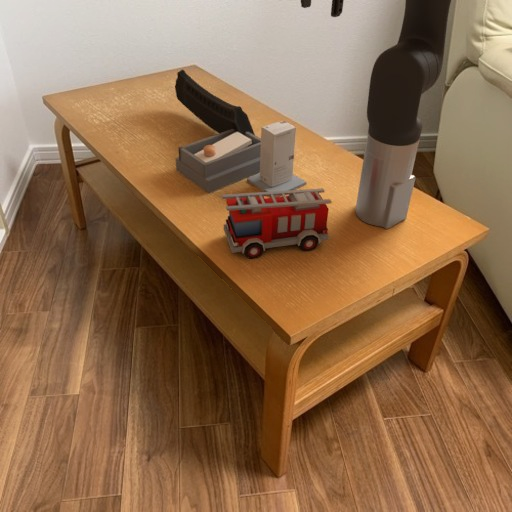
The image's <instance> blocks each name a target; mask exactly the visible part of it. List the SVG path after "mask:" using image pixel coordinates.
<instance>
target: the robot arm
mask: <svg viewBox="0 0 512 512" xmlns="http://www.w3.org/2000/svg"><path fill="white" fill-rule="evenodd" d="M344 2H345V1H344V0H331V9H330V17H332V18H338V17H340V16H341V15H342V13H343V8H344ZM404 3H405V6H404V15H403V21H402V23H401V30H400V33H399V37H398V40H397V43H396V44H395V45H393V46H391V47H389V48H388V49H386V50H384V51H383V52H381V53H380V54H379V55H378V56H377V58H376V60H375V62H374V63H373V67H372V70H371V75H370V80H369V88H368V95H367V96H368V97H367V105H366V106H367V107H366V118H367V122H368V129H367V136H366V143H365V148H364V149H365V150H364V153H363V154H364V155H363V161H362V166H361V172H360V179H359V184H358V189H357V191H358V192H357V198H356V204H355V208H354V209H355V214H356V217H358V219H360V220H361V221H362V222H364V223H366V224H369V225H372V226H376V227H382V228H384V229H386V230H388V229H390V228H393V226H395V225H397V224H398V223H400V222H402V221H404V220H405V219H407V216H408V212H409V209H410V203H411V198H412V195H413V191H414V186H415V181H416V176H415V175H414V174H413V169H414V165H415V161H416V156H417V153H418V148H419V144H420V143H419V142H420V141H421V140H420V139H421V134H422V130H423V122H422V120H421V118H420V117H418V113H419V107H420V103H421V98H422V95H423V94H424V93H425V92H427V91H428V90H430V88H432V87H433V86H434V85H435V84H436V83H437V81H438V79H439V78H440V76H441V72H442V68H443V64H444V63H443V62H444V55H445V48H446V47H445V46H446V38H447V37H446V36H447V29H448V28H447V27H448V22H449V21H448V20H449V12H450V7H451V3H452V0H405V2H404ZM300 4H301V5H300V6H301V8H304V9H307V8H310V7H311V5H312V0H300Z"/></svg>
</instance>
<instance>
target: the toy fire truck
mask: <svg viewBox="0 0 512 512" xmlns="http://www.w3.org/2000/svg"><path fill="white" fill-rule="evenodd" d="M325 191H326V190H325V189H324V188H323V187H322V188H309V189H308V188H307V189H295V190H289V191H273V192H264V191H263V192H262V191H260V192H259V191H258V192H243V193H231V194H230V193H229V194H221V197H222V200H225V201H226V206H225V209H226V210H227V211H228V214H229V215H228V216H227V219H225V224H223V231H224V234H225V237H226V240H227V243H228V247H229V249H230V252H231V254H235V253H240V252H241V253H242V254H244V255H245V257H246V258H248V259H249V260H254V259H255V260H257V259H258V258H260V257H261V256H262V255H263V252H265V251H266V249H270V248H278V247H284V246H285V247H286V246H293V245H297V246H298V247H300V249H301V250H302V251H303V252H312V251H314V250H315V249H317V247H318V246H319V244H321V242H322V241H329V237H330V235H329V229H328V227H327V226H328V216H329V207H328V206H327V204H332V202H333V201H332V200H331V199H330V198H327V199H323V197H322V196H321V193H325ZM277 195H282V196H279V197H274V196H277ZM268 197H269V198H268Z"/></svg>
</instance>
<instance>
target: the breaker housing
mask: <svg viewBox="0 0 512 512" xmlns="http://www.w3.org/2000/svg"><path fill="white" fill-rule="evenodd" d="M233 133H235V130H234V129H231V130H228V131H225V132H222V133H216V134H214V135H210V136H207V137H205V138H203V139H202V138H201V139H199V140H197V141H194V142H191V143H187V144H185V145H182V146H179V147H178V150H177V151H178V157H176V158H174V160H175V169H176V170H175V171H176V172H178V173H179V174H181V175H182V176H184V178H186V179H188V181H190V182H192V183H193V184H194V185H196V186H197V187H199V188H200V189H202V190H203V191H205V193H207V194H210V193H211V194H212V193H213V192H215V191H218V190H221V189H223V188H225V187H227V186H230V185H233V184H235V183H237V182H240V181H242V180H243V181H244V180H245V179H247V178H249V177H251V176H254V175H256V174H259V173H260V153H261V137H259V136H257V135H256V134H255V135H253V134H252V133H250V132H245V135H246V137H248V138H250V139H251V140H252V144H250V145H248V146H247V147H245V148H243V149H241V150H238V151H235V152H233V153H230V154H227V155H225V156H222V157H219V158H217V159H214V160H211V161H209V162H204V161H203V160H201V159H200V158H198V157H197V156H195V155H194V154H196V153H198V152H200V151H201V150H203V148H204V147H205V146H206V145H213V144H214V143H216V142H218V141H220V140H222V139H224V138H226V137H228V136H229V135H231V134H233Z"/></svg>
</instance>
